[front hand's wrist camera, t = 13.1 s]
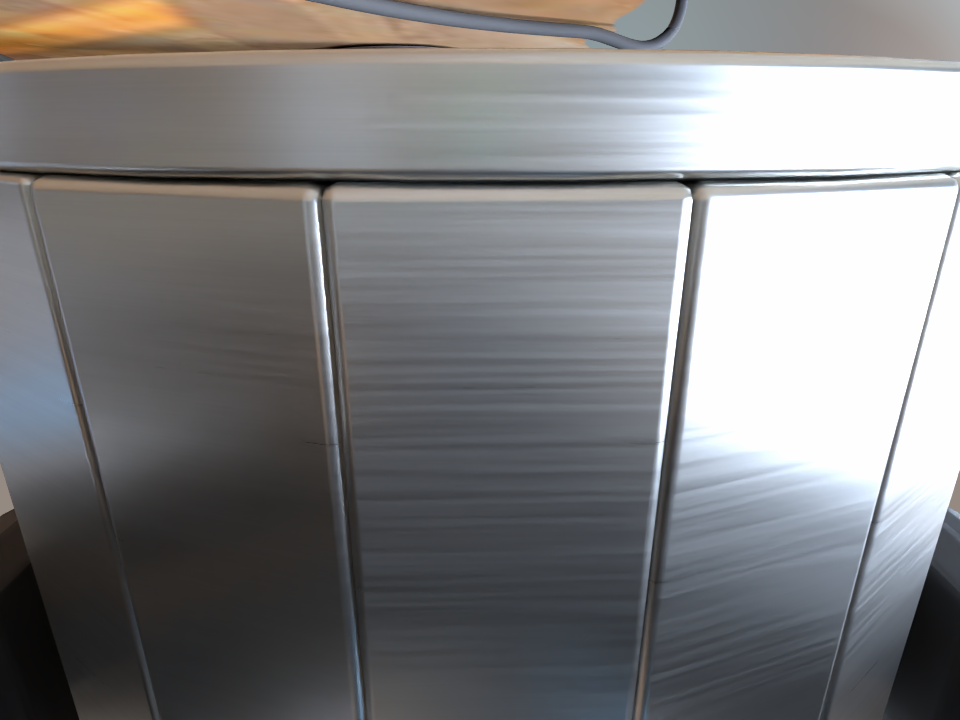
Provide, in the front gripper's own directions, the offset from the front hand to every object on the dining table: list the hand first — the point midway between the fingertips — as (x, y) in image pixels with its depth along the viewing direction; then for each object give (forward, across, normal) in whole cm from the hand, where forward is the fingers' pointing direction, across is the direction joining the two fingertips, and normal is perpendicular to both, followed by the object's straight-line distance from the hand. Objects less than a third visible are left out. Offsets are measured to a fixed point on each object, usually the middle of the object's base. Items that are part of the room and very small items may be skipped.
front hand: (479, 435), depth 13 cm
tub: (-4, 0, -6) cm, 8 cm away
